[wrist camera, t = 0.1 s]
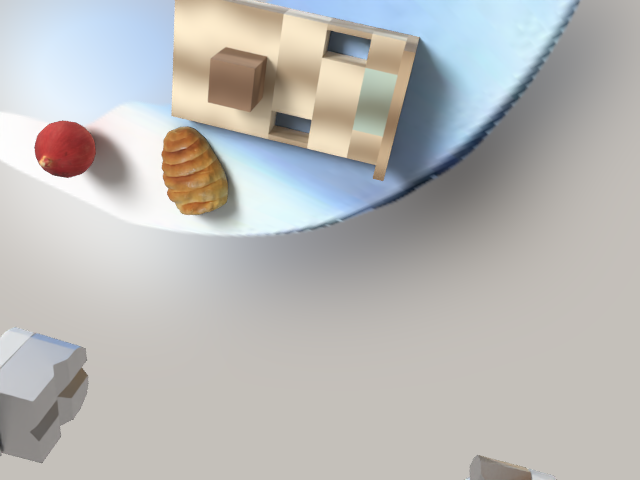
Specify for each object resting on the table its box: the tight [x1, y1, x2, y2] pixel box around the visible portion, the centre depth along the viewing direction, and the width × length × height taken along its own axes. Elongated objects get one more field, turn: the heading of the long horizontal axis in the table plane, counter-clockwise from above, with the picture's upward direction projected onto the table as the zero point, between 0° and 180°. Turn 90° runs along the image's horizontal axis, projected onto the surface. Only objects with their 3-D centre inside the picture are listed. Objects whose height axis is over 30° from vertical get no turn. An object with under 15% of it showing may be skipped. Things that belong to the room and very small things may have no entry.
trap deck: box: [172, 0, 419, 181], centre depth 56 cm, size 12×22×6 cm, turn 81°
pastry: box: [162, 127, 228, 215], centre depth 64 cm, size 9×7×4 cm
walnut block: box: [208, 47, 267, 112], centre depth 55 cm, size 4×4×4 cm
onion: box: [35, 121, 96, 178], centre depth 63 cm, size 6×6×8 cm
